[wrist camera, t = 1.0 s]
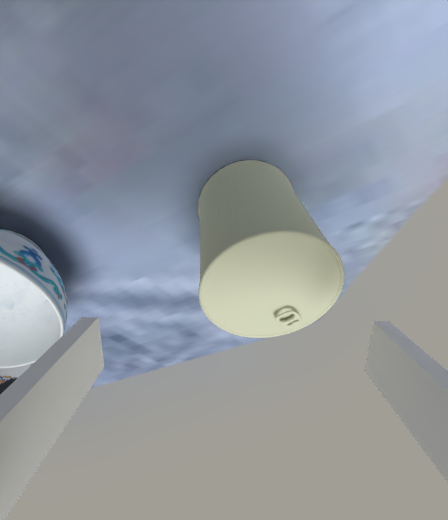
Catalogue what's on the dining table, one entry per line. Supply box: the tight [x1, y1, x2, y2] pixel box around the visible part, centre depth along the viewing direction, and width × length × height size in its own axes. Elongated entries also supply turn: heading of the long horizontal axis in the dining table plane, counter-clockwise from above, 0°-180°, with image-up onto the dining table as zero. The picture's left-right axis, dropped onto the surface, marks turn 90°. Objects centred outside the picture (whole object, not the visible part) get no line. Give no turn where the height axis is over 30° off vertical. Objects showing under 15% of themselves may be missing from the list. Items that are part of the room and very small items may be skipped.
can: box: [198, 160, 344, 338], centre depth 21 cm, size 9×9×12 cm
